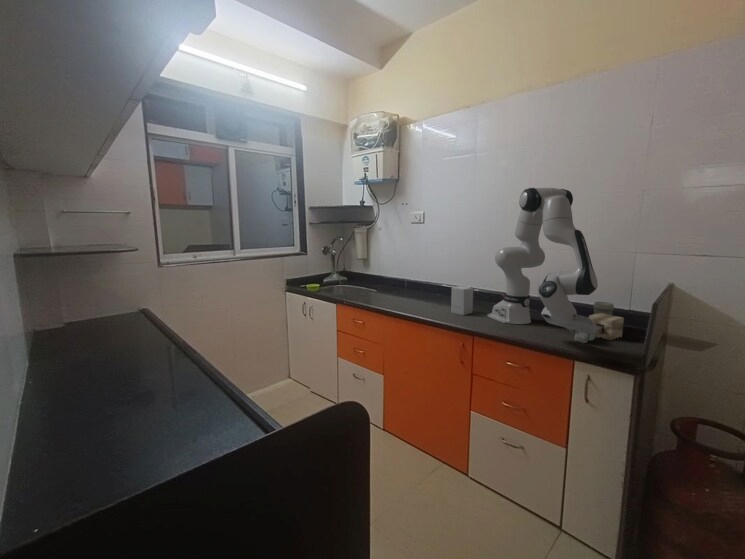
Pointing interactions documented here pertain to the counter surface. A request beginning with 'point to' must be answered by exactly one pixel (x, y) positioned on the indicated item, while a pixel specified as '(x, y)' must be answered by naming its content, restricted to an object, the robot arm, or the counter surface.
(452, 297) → the supplement box
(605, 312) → the coffee cup
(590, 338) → the pale teal block
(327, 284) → the counter surface
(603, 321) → the block
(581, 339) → the grey elongated piece
